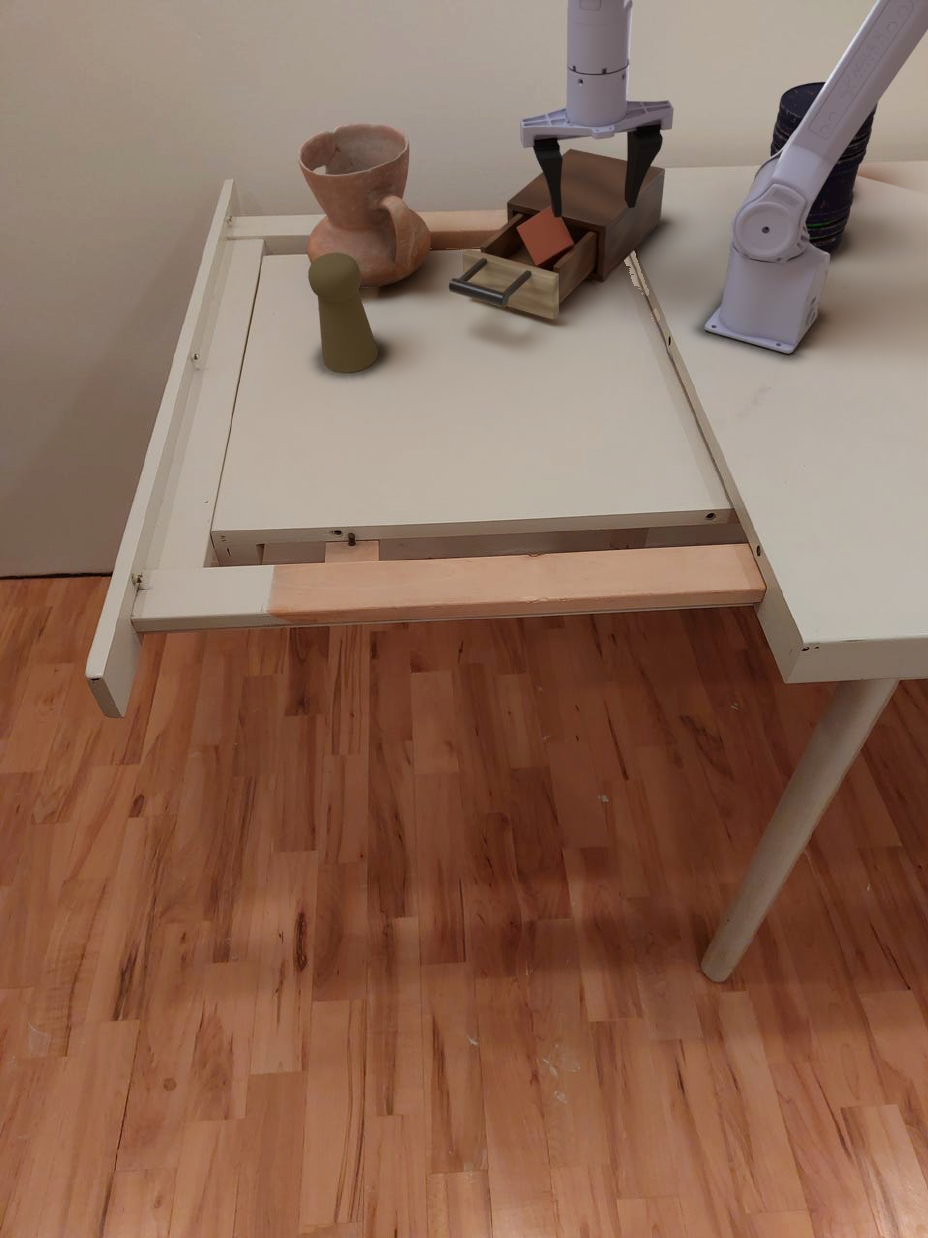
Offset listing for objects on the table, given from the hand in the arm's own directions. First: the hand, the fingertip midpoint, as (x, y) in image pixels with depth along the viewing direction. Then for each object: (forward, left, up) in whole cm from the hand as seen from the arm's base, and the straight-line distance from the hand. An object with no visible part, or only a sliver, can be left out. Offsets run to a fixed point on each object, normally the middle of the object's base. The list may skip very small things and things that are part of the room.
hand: (593, 207), depth 93 cm
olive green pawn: (+17, +22, -10) cm, 30 cm away
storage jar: (-16, -21, -10) cm, 28 cm away
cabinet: (+6, -10, -10) cm, 15 cm away
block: (+6, -1, -5) cm, 8 cm away
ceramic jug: (+25, +7, -10) cm, 28 cm away
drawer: (+6, +4, -9) cm, 11 cm away
